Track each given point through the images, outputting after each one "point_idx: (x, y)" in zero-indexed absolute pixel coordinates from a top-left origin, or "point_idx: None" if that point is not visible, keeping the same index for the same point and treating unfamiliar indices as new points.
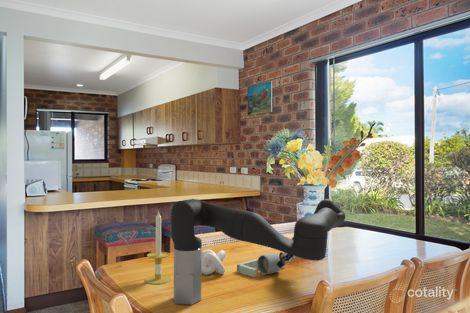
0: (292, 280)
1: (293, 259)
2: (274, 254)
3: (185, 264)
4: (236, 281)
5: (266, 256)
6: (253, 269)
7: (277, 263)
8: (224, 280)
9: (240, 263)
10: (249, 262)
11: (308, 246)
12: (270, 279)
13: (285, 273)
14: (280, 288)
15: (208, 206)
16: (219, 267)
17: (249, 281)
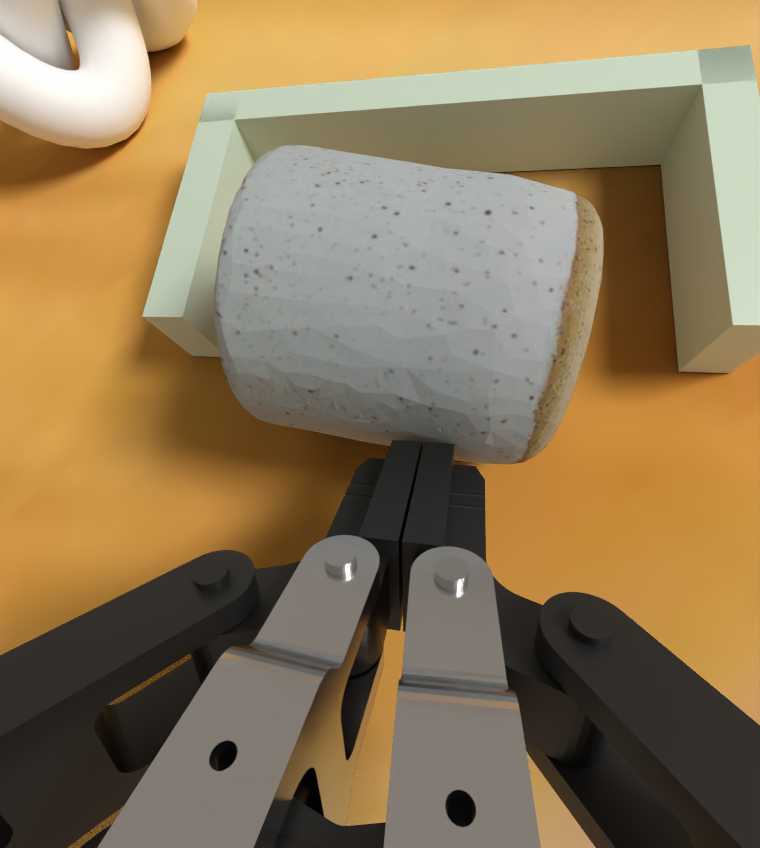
0: (365, 759)
1: (618, 754)
2: (503, 244)
3: None
4: (29, 322)
5: (234, 257)
6: (149, 302)
7: (393, 444)
8: (9, 248)
9: (249, 92)
10: (346, 112)
11: None
12: (234, 511)
13: (537, 518)
14: None
15: None
16: None
17: (78, 397)
